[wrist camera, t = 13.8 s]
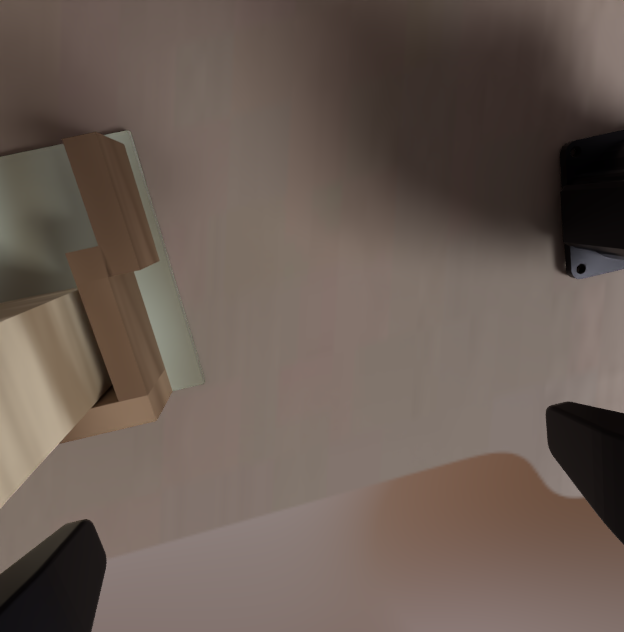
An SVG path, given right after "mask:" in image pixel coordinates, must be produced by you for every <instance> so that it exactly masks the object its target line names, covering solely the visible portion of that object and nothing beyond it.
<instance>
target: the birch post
mask: <svg viewBox="0 0 624 632" xmlns="http://www.w3.org/2000/svg"><path fill="white" fill-rule="evenodd" d="M111 385H112V382H111V379H110V376H109V373H108V371H107V368H106V365H105V362H104V360H103V357H102V354H101V351H100V349H99V346H98V343H97V340H96V338H95V335H94V332H93V329H92V327H91V324H90V321H89V318H88V316H87V313H86V310H85V307H84V305H83V302H82V299H81V296H80V294H79V291H78V288H77V287H76V288H71V289H66V290H62V291H57V292H52V293H47V294H42V295H37V296H32V297H27V298H22V299H17V300H12V301H7V302H3V303H0V508H1V507H2V506H3V505H4V504H5V503H6V502H7V501H8V499H9V498H10V497H11V496H12V495H13V494H14V493H15V492H16V491H17V489H18V488H19V487H20V486H21V485H22V484H23V483H24V482H25V481H26V479H27V478H28V477H29V476H30V475H31V474H32V473H33V472H34V471H35V470H36V468H37V467H38V466H39V465H40V464H41V463H42V462H43V461H44V460H45V458H46V457H47V456H48V455H49V454H50V453H51V452H52V451H53V450H54V448H55V447H56V446H57V445H58V444H59V443H60V442H61V441H62V440H63V438H64V437H65V436H66V435H67V434H68V433H69V432H70V431H71V430H72V429H73V427H74V426H75V425H76V424H77V423H78V422H79V421H80V420H81V419H82V417H83V416H84V415H85V414H86V413H87V412H88V411H89V410H90V409H91V407H92V406H93V405H94V404H95V403H96V402H97V401H98V400H99V399H100V398H101V396H102V395H103V394H104V393H105V392H106V391H107V390H108V389H109V388H110V386H111Z"/></svg>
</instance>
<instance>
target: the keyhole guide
mask: <svg viewBox="0 0 624 632" xmlns="http://www.w3.org/2000/svg"><path fill="white" fill-rule="evenodd" d="M62 141H63V144H59V145H54V146H50V147H45V148H40V149H35V150H30V151H26V152H21V153H16V154H11V155H7V156H2V157H0V303H3V302H7V301H12V300H17V299H22V298H27V297H32V296H37V295H42V294H47V293H52V292H57V291H62V290H66V289H71V288H76V287H77V288H78V291H79V294H80V296H81V299H82V302H83V305H84V307H85V310H86V313H87V316H88V318H89V321H90V324H91V327H92V329H93V332H94V335H95V338H96V340H97V343H98V346H99V349H100V351H101V354H102V357H103V360H104V362H105V365H106V368H107V371H108V373H109V376H110V379H111V382H112V385H111V386H110V388H109V389H108V390H107V391H106V392H105V393H104V394H103V395H102V396H101V398H100V399H99V400H98V401H97V402H96V403H95V404H94V405H93V406H92V407H91V409H90V410H89V411H88V412H87V413H86V414H85V415H84V416H83V417H82V419H81V420H80V421H79V422H78V423H77V424H76V425H75V426H74V427H73V429H72V430H71V431H70V432H69V433H68V434H67V435H66V436H65V437H64V438H63V440H62V441H61V442H60V443H59V444H61V443H65V442H69V441H73V440H78V439H82V438H86V437H90V436H95V435H99V434H103V433H107V432H112V431H116V430H120V429H124V428H129V427H133V426H137V425H141V424H146V423H150V422H154V421H157V419H158V417H159V415H160V414H161V412H162V410H163V408H164V406H165V404H166V403H167V401H168V399H169V397H170V395H171V393H172V391H175V390H180V389H184V388H188V387H193V386H197V385H201V384H204V383H205V378H204V375H203V372H202V368H201V365H200V362H199V358H198V355H197V352H196V348H195V345H194V342H193V338H192V335H191V332H190V328H189V325H188V322H187V318H186V315H185V312H184V308H183V305H182V302H181V298H180V295H179V292H178V288H177V285H176V282H175V278H174V275H173V272H172V268H171V265H170V262H169V258H168V255H167V252H166V248H165V245H164V242H163V238H162V235H161V232H160V228H159V225H158V222H157V218H156V215H155V212H154V208H153V205H152V202H151V198H150V195H149V192H148V188H147V185H146V182H145V178H144V175H143V172H142V168H141V165H140V162H139V158H138V155H137V152H136V148H135V145H134V142H133V138H132V135H131V132H130V131H128V130H126V131H121V132H116V133H112V134H107V135H102V134H100V133H97V132H93V133H88V134H83V135H78V136H73V137H69V138H64V139H62Z"/></svg>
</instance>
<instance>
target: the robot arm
mask: <svg viewBox="0 0 624 632" xmlns="http://www.w3.org/2000/svg"><path fill="white" fill-rule="evenodd" d="M572 148H574V149H575V155H574V157H572V156H571V150H572ZM560 167H561V185H562V191H561V208H562V227H563V241H564V242H565V259H566V272H567V274H568V275H569V276H570V277H572V278H576V279H583V278H587V277H591V276H596V275H600V274H604V273H609V272H613V271H617V270H622V269H624V130H621V131H616V132H612V133H607V134H603V135H598V136H593V137H589V138H584V139H580V140H575V141H571V142H568V143H566V144H565V145H564V146H563V147H562V149H561V151H560ZM579 264H580V266H581V267H580V270H579V271H578V272H577V271H576V268H577V266H578V265H579ZM546 426H547V439H548V446H549V449H550V451H551V453H552V455H553V457H554V458H555V459H556V461H557V462H558V463H559V465H560V466H561V467H562V468H563V470H564V471H565V472H566V474H567V475H568V476H569V478H570V479H571V480H572V482H573V483H574V484H575V486H576V487H577V488H578V490H579V491H580V492H581V494H582V495H583V496H584V497H585V499H586V500H587V501H588V503H589V504H590V505H591V507H592V508H593V509H594V510H595V512H596V513H597V514H598V516H599V517H600V518H601V519H602V520H603V522H604V523H605V524H606V525H607V527H608V528H609V529H610V530H611V531H612V532H613V533H614V534H615V535H616V537H617V538H618V539H619V540H620V541H621V542H622V543H623V544H624V413H620V412H615V411H611V410H606V409H601V408H597V407H592V406H588V405H583V404H578V403H574V402H563V403H559V404H555V405H551V406H549V407H548V408H547V410H546ZM105 570H106V554H105V551H104V548H103V546H102V544H101V541H100V539H99V536H98V534H97V532H96V529H95V527H94V525H93V523H92V522H91V521H90V520H87V519H84V520H80V521H76V522H72V523H68V524H65V525H64V526H62V527H61V528H60V529H58V530H57V531H56V532H54V533H53V534H52V535H51V536H49V537H48V538H47V539H45V540H44V541H43V542H41V543H40V544H39V545H38V546H36V547H35V548H34V549H32V550H31V551H30V552H29V553H27V554H26V555H25V556H23V557H22V558H21V559H19V560H18V561H17V562H16V563H14V564H13V565H12V566H10V567H9V568H8V569H6V570H5V571H4V572H3V573H1V574H0V632H91V631H92V626H93V621H94V618H95V613H96V609H97V604H98V600H99V596H100V591H101V587H102V582H103V578H104V574H105Z"/></svg>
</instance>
